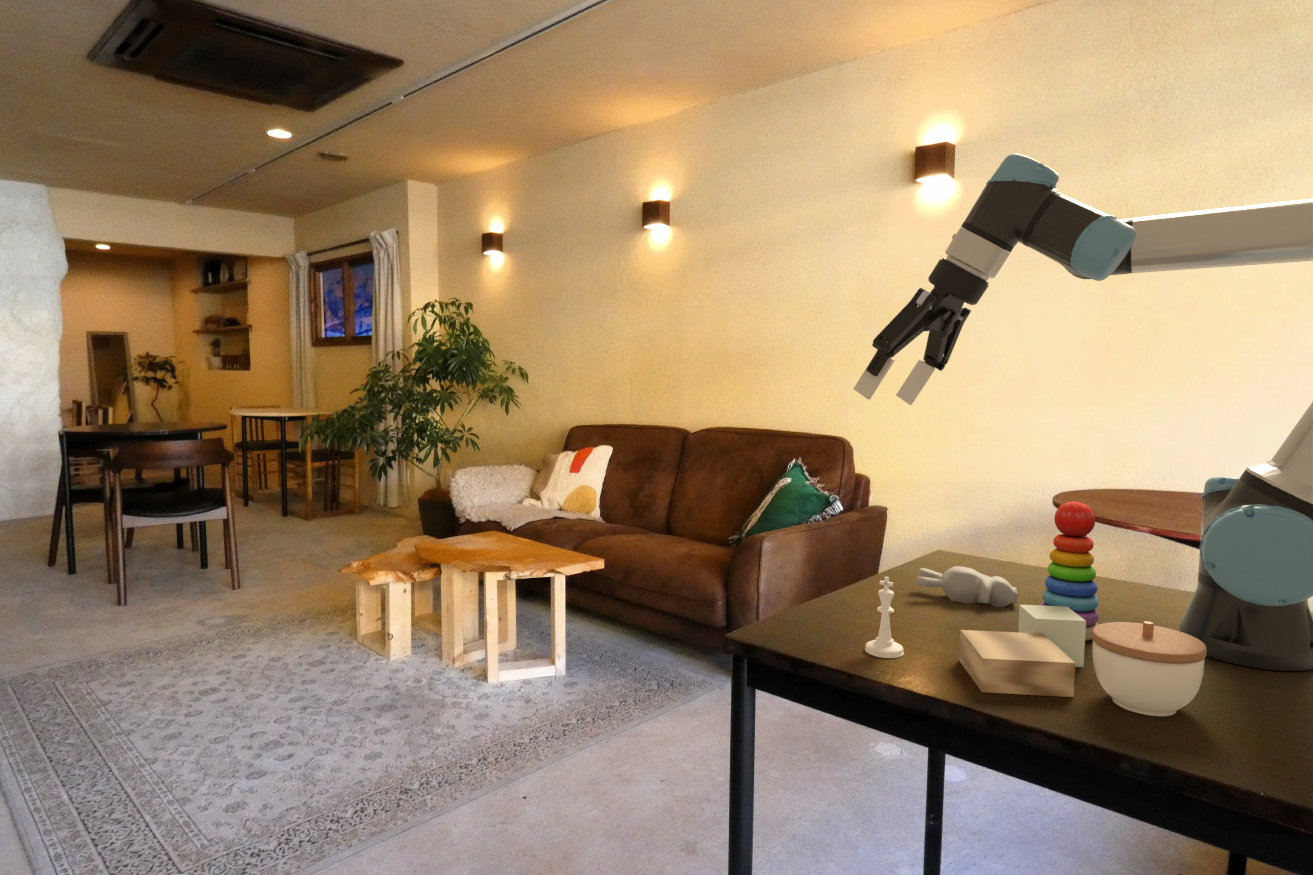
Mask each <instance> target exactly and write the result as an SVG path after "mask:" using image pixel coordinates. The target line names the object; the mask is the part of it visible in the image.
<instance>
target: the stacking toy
mask: <svg viewBox="0 0 1313 875" xmlns="http://www.w3.org/2000/svg"><path fill="white" fill-rule="evenodd" d="M1053 517H1054V518H1053V519H1054V520H1053V521H1054V524H1055V526H1056V528H1057V530H1058V531H1059V532H1060V534H1056V535H1055V536H1054V538H1053V540H1052V541H1053V542H1052V543H1053V545H1054V547H1055V548H1054V549H1052V550H1050V552H1049V559H1050V560H1051V562H1050V563H1049V564H1048V566H1047V573H1048V576H1047V577H1046V578H1045V580H1044V585H1045V587H1046V589H1045V590H1044V591H1043V593H1042V599H1043V602H1041V603H1040V604H1039V605H1041V606H1065V607H1068V608H1070V609H1071V610H1072V611H1074V612H1075V613H1076V614H1078V615H1079V616H1080V617H1082V618H1083V619H1084V620H1086V631H1085V642H1086V641H1093V639H1092V630H1093V628H1094V627H1095V626H1097V625H1099V624H1098V623H1097V622H1098V620H1099V613H1098V611H1097V610H1096V609H1097V608H1098V606H1099V598H1098V596H1097V595H1096V593H1097V592H1098V584H1097V583H1096V582H1095V581H1094V579H1095V578H1096V577H1097V576H1096V575H1097V572H1096V569H1095V568H1094V567H1093V566H1092V565H1093V564H1094V562H1095V557H1094V555H1093V554H1092V553H1091V552H1090V551H1092V550H1093V548H1094V546H1095V544H1094V541H1093V539H1092V538H1091V537H1088V536H1087V535H1088V534H1090V533H1091V532H1092V531H1093V530H1094V528H1095V525H1096V516H1095V513H1094V511H1093V510H1092V508H1090V507H1089V506H1088V505H1087V504H1085V503H1083V502H1079V501H1068V502H1065V503H1063V504H1061V505H1060V506H1059V507H1058V508H1057V509H1056V511H1055V512H1054V516H1053Z"/></svg>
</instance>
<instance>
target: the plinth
mask: <svg viewBox="0 0 1313 875" xmlns="http://www.w3.org/2000/svg"><path fill="white" fill-rule="evenodd" d="M959 632H960V634H959V635H960V637H959V656H958V657H959V658H958V659H959V662H960V664H961V665H962V667H963V668H964V669H965V671H966V672H967V674H968V675H969V676H970V677H971V679H972V681H973V682H974V684H976V686H977V687H978V689H979V690H980V692H981V693H987V694H988V693H991V694H992V693H993V694H1006V695H1007V694H1009V695H1011V694H1012V695H1027V696H1028V695H1030V696H1044V697H1045V696H1047V697H1064V698H1065V697H1067V698H1074V696H1075V695H1074V694H1075V679H1076V677H1075V674H1076V667H1075V662H1074V661H1073V660H1072V659H1070V658H1069V657H1068V656H1067V655H1066V654H1065V653H1064V652H1063V651H1062V650H1061V649H1060V648H1058V647H1057V646H1056V645H1055V644H1054V643H1053V642H1052V641H1051V640H1050V639H1049V638H1047V637H1046V636H1045V635H1044V634H1041V633H1019V632H1016V631H1015V632H1014V631H1013V632H1012V631H997V630H996V631H994V630H993V631H991V630H972V629H967V630H966V629H960V631H959Z"/></svg>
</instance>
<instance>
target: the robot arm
mask: <svg viewBox="0 0 1313 875" xmlns="http://www.w3.org/2000/svg"><path fill="white" fill-rule="evenodd" d="M1059 177H1060V175H1059V173H1058V172H1056V171H1055V170H1054V169H1053V168H1051V167H1049V166H1047V165H1046V164H1044V163H1042V162H1040V161H1038V160H1036V159H1033V158H1032V157H1029V156H1027V155H1023V154H1021V153H1012V154H1008V155H1007V156H1005V158H1004V159H1003V160H1002V162H1001V163H1000V164H999V167H998V168H997V169H996V170H995V172H994V174H992V176H991V178H989V180H987V182H986V184H985V186H984V188H983V189H982V191H981V193H980V195H979V196H978V198H977V200H976V201H975V203H974V204H973V206H972V207H971V209H970V211H969V212H968V215H967V216H966V218H965V219H964V220H963V223H962V224H961V225H960V228H959V229H958V231H957V232H956V233H954V234H952V236H951V242H950V243H949V245H948V247H946V250H944V252H945V254H946V255H947V256H946V257H945V258H943V257H942V258H941V259H939V260H938V261H937V263H936V265H935V267H934V268H933V269H932V271H931V273H930V274H929V275H928V282H929V283H930V284H932V285H933V288H932V289H931V291H930V292H929V291H927V289H924V288H923V287H920V288H918V289H917V291H916V292H915V294H914V295H913V296H912V298H910V301H909V302H907V304H906V305H905V306H904V307H903V308H901V309H900V311H899V312H898V313H897V314H896V315H895V316H894V318H892V319H891V320H890V322H889V323H888V324H887V325H886V326H885V327H884V328H883V329H882V330H881V331H880V332H879V333H878V334H877V335H876V336H875V338H874V339H873V340H872V347H873V348H875V349H876V352H874V353H875V354H873V356H872V358H871V360H870V361H869V363H868V365H867V366H866V368H865V369H864V371H863V373H861V376H860V377H859V379H858V381H857V382H856V383H855V385H854V387H853V390H854V391H855V392H857V393H858V394H859V395H861V396H862V397H863V398H865V399H866V400H871V399H872V396H874V394H875V393H876V390H877V389H878V388H879V386H880V384H881V383H882V381H883V380H884V378H885V377H886V375H887V373H888V372H889V371H890V369H891V367H892V366H893V364H894V362H895V361H896V360H895V359H894V358H893V357H895V356H896V355H897V354H898V353H900V352H901V351H902V350H903V349H904V348H906V347H907V346H908V345H909V344H911V342H913V341H914V340H915V339H916V338H917V337H919V336H920V335H921V334H923V332H928V336H927V342H926V344H925V349H924V350H925V351H924V354H923V359H918V361H917V362H916V363H915V365H914V366H913V368H912V370H911V371H910V373H909V375H908V376H907V378H906V379H905V380H904V382H903V384H902V385H901V387H900V388H899V390H898V391H897V392H896V394H895V396H896V397H898V398H899V399H901V400H902V401H903V402H905V403H906V404H908V405H910V406H912V405H913V404H914V402H915V401H916V399H917V397H918V396H919V395H920V393H921V392H922V390H923V388H924V387H925V386H926V383H928V381H929V379H930V378H931V376H932V375H933V373H934V372H935V370H936V369H937V370H938V371H940V372H942V371H943V370H944V369H945V367H946V365H947V364H948V363H949V360H950V358H951V355H952V352H953V350H954V348H955V345H956V343H957V341H958V339H959V336H960V333H961V331H962V328H963V327H964V325H965V322H966V321H967V319H968V317H969V316H970V314H971V313H972V311H971V309H970V308H968V307H967V306H966V305H964V304H965V303H966V304H968V305H971V306H975V305H977V304H978V302H979V301H980V299H981V298H982V297H983V295H984V294H985V292H986V291H987V289H988V287H989V286H990V285H989V284H990V283H989V278H990V279H995V278H996V276H997V275H998V273H999V272H1000V270H1001V269H1002V267H1003V266H1004V263H1005V262H1006V261H1007V259H1008V257H1010V254H1011V253H1012V251H1013V249H1014V247H1016V246H1017V245H1018V243H1021V244H1022V245H1024V246H1025V247H1027V248H1031V249H1032V250H1034V251H1036V252H1038V253H1039V254H1041V255H1043V256H1045V257H1047V258H1048V259H1050V260H1052V261H1054V262H1057V263H1058V264H1059V265H1061V266H1062V267H1064V269H1065V270H1066V271H1067V272H1068V273H1069V274H1071V275H1072V276H1074V277H1076V278H1078V279H1082V280H1094V281H1096V282H1097V281H1098V282H1101V281H1104V280H1106V279H1107V278H1108V277H1110V276H1116V275H1117V276H1120V275H1128V274H1139V273H1140V274H1141V273H1142V274H1143V273H1153V272H1155V273H1157V272H1168V271H1169V272H1171V271H1183V270H1185V271H1186V270H1196V269H1197V270H1198V269H1215V268H1226V267H1227V268H1229V267H1241V266H1242V267H1243V266H1257V265H1271V264H1283V263H1284V264H1285V263H1300V262H1303V263H1304V262H1313V198H1310V199H1299V200H1289V201H1279V202H1271V203H1270V202H1269V203H1261V204H1254V205H1253V204H1252V205H1245V206H1244V205H1243V206H1242V205H1241V206H1234V207H1223V208H1213V209H1204V210H1195V211H1186V212H1178V213H1177V212H1175V213H1168V214H1159V215H1148V216H1147V215H1146V216H1141V217H1139V216H1138V217H1131V218H1121V219H1119V218H1118V217H1117V216H1115V215H1114V214H1113V215H1112V214H1110V215H1109V214H1107V213H1105V212H1103V211H1101V210H1098V209H1096V208H1094V207H1092V206H1089V205H1087V204H1085V203H1083V202H1082V201H1081V202H1080V201H1079V200H1076V199H1074V198H1072V197H1069V196H1067V195H1065V194H1064V193H1062V192H1060V191H1059V190H1057V189H1056V188H1057V186H1056V185H1057V184H1058V183H1059V182H1058V181H1059V179H1060V178H1059ZM1201 502H1202V512H1201V514H1202V515H1201V526H1200V528H1201V529H1200V542H1199V556H1198V558H1199V559H1198V574H1197V586H1196V589H1195V591H1194V593H1193V595H1192V596H1191V599H1190V601H1189V603H1188V605H1187V607H1186V609H1185V612H1184V613H1183V615H1182V618H1181V619H1180V622H1179V626H1178V631H1180V632H1183V633H1186V634H1188V635H1191V636H1193V637H1195V638H1197V639H1199V640H1200V641H1202V642H1203V643H1204V644H1205V646H1206V647H1207V652H1206V657H1208V658H1211V659H1215V660H1219V661H1223V662H1226V663H1230V664H1234V665H1239V666H1244V667H1249V668H1255V669H1262V670H1269V671H1270V670H1271V671H1283V672H1284V671H1285V672H1301V671H1310V670H1313V615H1312V612H1311V609H1310V608H1311V607H1310V605H1309V602H1308V600H1309V599H1310V598H1312V597H1313V401H1312V402H1311V403H1310V405H1309V406H1308V407H1307V409H1306V410H1305V411H1304V413H1303V414H1302V416H1301V417H1300V419H1299V420H1298V421H1297V423H1296V424H1295V426H1294V427H1293V428H1292V430H1291V431H1290V433H1289V434H1288V436H1287V437H1286V438H1285V440H1284V442H1282V444H1281V446H1280V447H1279V449H1278V450H1277V451H1276V452H1275V454H1274V456H1272V458H1271V460H1268V461H1266V462H1263V463H1260V464H1259V463H1258V464H1254V465H1249V466H1247V467H1246V468H1245V470H1244V471H1243V473H1242V474H1241V475H1240V477H1234V476H1233V477H1231V476H1230V477H1229V476H1228V477H1227V476H1213V477H1210V478H1208V479H1207V480H1206V481H1205V483H1204V489H1203V492H1202V494H1201Z"/></svg>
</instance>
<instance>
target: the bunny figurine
mask: <svg viewBox="0 0 1313 875" xmlns="http://www.w3.org/2000/svg"><path fill="white" fill-rule="evenodd" d="M917 575H918V576H917V577H916V584H917V585H918V586H920V587H925V588H927V587H928V588H929V587H933V588H934V587H936V588H941V589H942V591H943V593H944V594H945V595H946V596H947V597H948V598H949V600H950V601H951V602H958V603H963V604H969V605H970V604H974V603H981V604H989V605H991V606H993V607H997V608H998V607H999V608H1004V607H1007V606H1009V605H1011V604H1012V603H1013V604H1017V602H1018V597H1019V592H1018V590H1017V587H1014V586H1012V585H1011V584H1010V582H1009V581H1008V579H1005V578H1003V577H1001V576H998V575H994V576H989V575H986V574H984V573H981V572H979V571H977V570H976V569H974V568H971V567H966V566H958V565H954V566H952V567H950V568H948V569H947V570H945V571H944V572H943V573H940V572H937V571H935V570H932V569H928V568H926V567H925V568H924V567H920V568H919V569H918V572H917Z"/></svg>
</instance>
